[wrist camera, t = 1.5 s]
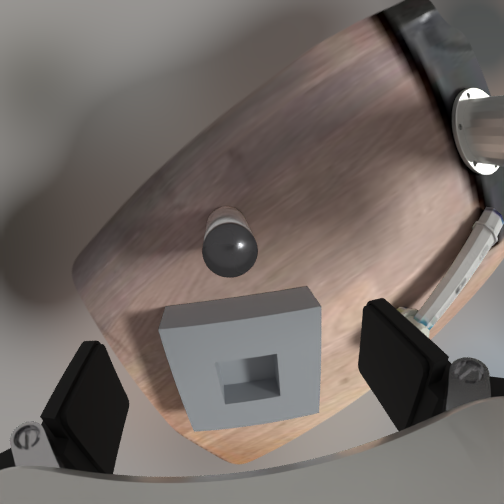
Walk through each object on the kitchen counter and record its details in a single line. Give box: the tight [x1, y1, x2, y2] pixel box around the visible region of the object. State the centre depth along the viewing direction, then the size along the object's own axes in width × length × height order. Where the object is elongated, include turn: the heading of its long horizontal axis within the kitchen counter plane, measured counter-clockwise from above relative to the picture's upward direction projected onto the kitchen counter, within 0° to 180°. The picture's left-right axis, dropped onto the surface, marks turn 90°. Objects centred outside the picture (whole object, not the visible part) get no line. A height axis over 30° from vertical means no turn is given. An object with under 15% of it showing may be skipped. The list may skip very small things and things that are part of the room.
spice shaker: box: [202, 206, 258, 277], centre depth 26 cm, size 4×4×9 cm
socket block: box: [158, 286, 321, 431], centre depth 33 cm, size 16×16×5 cm
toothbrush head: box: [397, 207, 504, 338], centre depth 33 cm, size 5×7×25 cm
